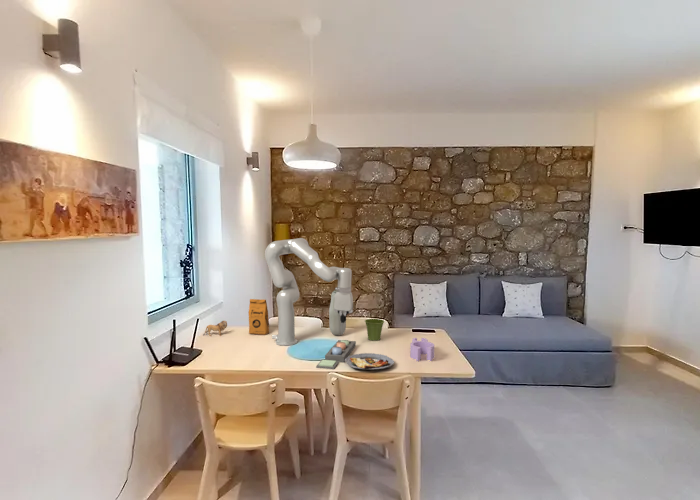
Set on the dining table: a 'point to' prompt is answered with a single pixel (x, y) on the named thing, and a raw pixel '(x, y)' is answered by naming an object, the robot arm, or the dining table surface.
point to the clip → (421, 349)
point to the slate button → (337, 351)
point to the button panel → (344, 352)
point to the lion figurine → (216, 328)
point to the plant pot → (374, 328)
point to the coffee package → (258, 317)
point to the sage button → (345, 341)
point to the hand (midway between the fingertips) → (343, 322)
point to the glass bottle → (335, 318)
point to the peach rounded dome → (342, 345)
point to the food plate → (369, 361)
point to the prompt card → (327, 364)
